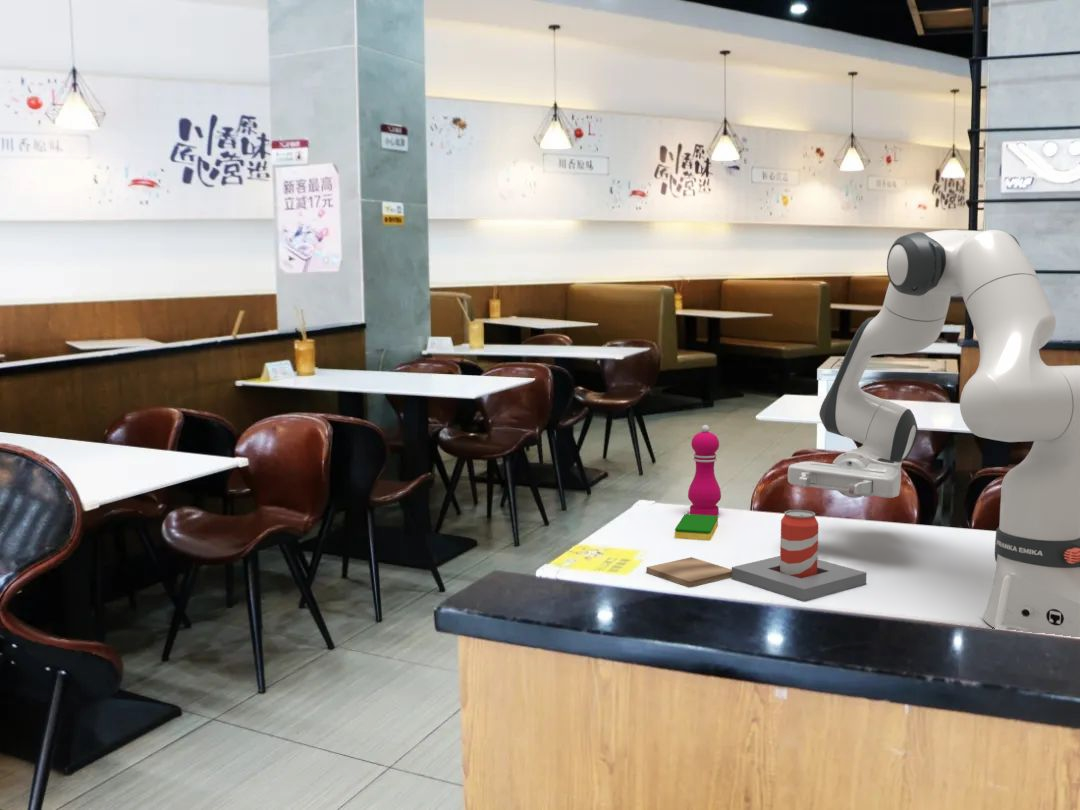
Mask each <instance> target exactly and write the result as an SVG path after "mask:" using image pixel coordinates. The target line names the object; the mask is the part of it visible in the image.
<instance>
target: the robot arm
mask: <svg viewBox="0 0 1080 810" xmlns="http://www.w3.org/2000/svg"><path fill="white" fill-rule="evenodd" d="M886 270H887V271H886V272H887V276H888V280H889V283H888V287H887V289H886V294H885V297H884V300H883V303H882V306H881V308H880V311H879V313H878V314H877V315H875V316H872V317H868V318H866V319H865V321H863V322H862V323H861V325H860V326H859V327H858V329H857V330H856V332H855V334H854V336H853V338H852V339H851V342H850V344H849V346H848V349H847V351H846V353H845V355H844V357H843V359H842V362H841V364H840V367H839V368H838V371H837V373H836V376H835V378H834V380H833V383H832V385H831V387H830V388H829V390H828V392H827V394H826V396H825V398H824V399H823V401H822V403H821V406H820V410H819V413H818V414H819V418H820V421H821V423H822V425H823V427H824V429H825V430H826V432H828V433H831V434H835V435H837V436H841V437H843V438H844V437H845V438H847V439H851V440H853V441H855V442H857V443H860V444H862V445H861V446H859V447H857V448H855V449H851V450H849V451H846V452H844V453H841V454H839V455H838V456H836V457H835V459H834V460H833V462H832V463H825V462H818V461H817V462H816V461H801V462H796V463H792V464H790V465H788V468H787V482H788V483H789V485H795V486H799V487H800V488H814V489H815V488H816V489H823V490H830V491H837V492H839V493H840V494H841V495H843V496H845V497H847V498H852V499H855V498H857V499H858V498H862V497H865V498H867V497H881V498H886V499H888V498H889V499H892V498H895V497H896V498H897V497H898V496H900V491H901V484H902V463H903V461H905V460H906V459H907V458H908V457H909V455H910V453H912V450H913V448H914V445H915V443H916V440H917V435H918V424H917V421H916V418H915V415H914V413H913V411H912V410H911V408H907V407H905V406H902V405H900V404H897V403H895V402H893V401H890V400H886V399H884V398H881V397H879V396H876V395H873V394H871V393H869V392H866V391H864V390H863V389H862V388H861V386H860V385H859V384H860V381H861V380H862V377H863V375H864V373H865V370H866V368H867V366H868V364H869V362H870V359H871V357H872V356H877V355H906V354H912V353H916V352H920V351H923V350H925V349H927V348H928V347H930V346H932V344H933V343H936V341H937V340H938V338H939V337H940V335H941V333H942V330H943V327H944V325H945V322H946V318H947V316H948V315H947V314H948V311H949V307H950V302H951V298H952V297H962V299H963V302H964V305H965V308H966V310H967V312H968V315H969V318H970V321H971V324H972V326H973V330H974V333H975V335H976V339H977V343H978V347H979V363H978V367H977V369H976V371H975V373H974V374H973V375H972V376H971V377H970V378H969V379H968V381H966V383H965V384H964V387H963V388H962V391H961V394H960V399H959V410H960V415H961V417H962V420H963V422H964V424H965V425H966V427H967V429H968V430H969V431H970V432H971V433H972V434H973V435H975V436H977V437H979V438H983V439H989V440H993V441H999V442H1007V443H1017V442H1021V443H1023V442H1033V443H1032V445H1031V449H1030V451H1029V452H1028V453H1027V455H1026V456H1025V458H1024V459H1023V460H1022V461H1020V463H1018V464H1017V465H1016V466H1014V467H1013V468H1011V469H1010V470H1008V471H1007V473H1006V474H1005V475H1004V477H1003V480H1002V482H1001V487H1000V488H1001V489H1000V504H999V507H1000V508H999V526H998V527H997V528H996V530H995V540H994V541H995V542H994V559H995V562H996V564H995V570H994V576H993V580H992V581H993V582H992V586H991V591H990V595H989V597H988V600H987V601H988V602H987V605H986V608H985V610H984V612H983V615H982V619H983V621H985V622H986V624H988V625H989V626H991V627H992V628H993V627H994V628H998V629H1005V630H1016V631H1023V632H1032V633H1045V634H1055V635H1063V636H1071V637H1080V364H1078V365H1075V364H1074V365H1047V364H1046V363H1045V361H1043V360H1042V358H1041V355H1040V350H1041V349H1042V348H1043V347H1045V345H1047V343H1048V342H1049V341H1050V340H1051V338H1052V336H1053V335H1054V332H1055V329H1056V325H1057V320H1056V315H1055V313H1054V312H1053V309H1052V306H1051V305H1050V302H1049V300H1048V298H1047V296H1046V293H1045V290H1044V288H1043V286H1042V283H1041V282H1040V279H1039V277H1038V275H1037V272H1036V271H1035V268H1034V267H1033V265H1032V264H1031V262H1030V259H1029V258H1028V257H1027V255H1026V253H1025V251H1024V250H1023V248H1021V245H1020V243H1019V241H1018V239H1017V238H1016V237H1015V236H1014V235H1012V234H1011V233H1008V232H1006V231H1004V230H1000V229H987V230H986V229H985V230H971V229H970V230H967V229H966V230H965V229H964V230H962V229H961V230H960V229H941V230H934V231H929V232H927V231H926V232H921V231H916V232H912V233H907V234H906V235H905V234H904V235H902V236H899V237H898V238H897V239H895V241H894V243H892V245H891V247H890V249H889V251H888V254H887V259H886ZM994 628H993V629H994Z"/></svg>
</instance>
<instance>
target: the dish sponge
mask: <svg viewBox="0 0 1080 810" xmlns="http://www.w3.org/2000/svg"><path fill="white" fill-rule="evenodd" d="M718 526H719V515H718V516H712V515H694V514H690V513H685V514H684V515H683V516H682V518H681V519H680V521H678V524H677V525H676V527H675V528H674V539H679V540H693V541H694V540H696V541H707V542H709V541H711V540H712V538H713V536H714V534H715V531H716V529H718Z"/></svg>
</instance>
